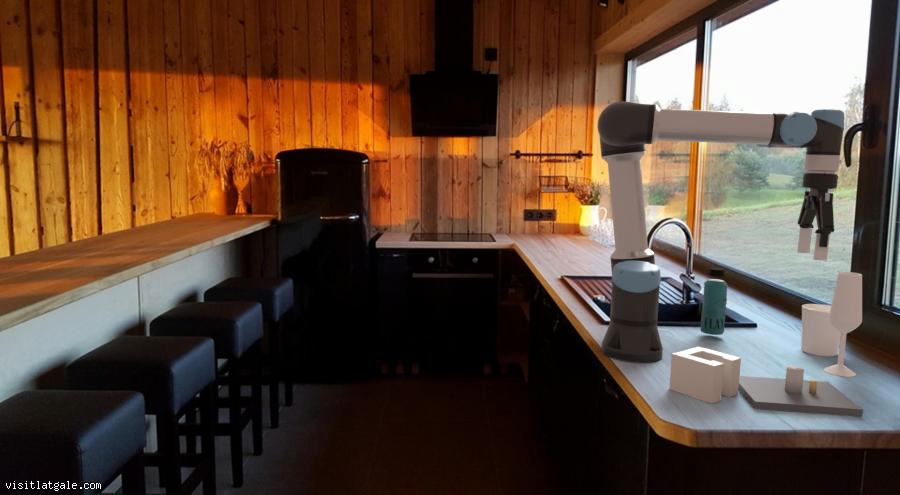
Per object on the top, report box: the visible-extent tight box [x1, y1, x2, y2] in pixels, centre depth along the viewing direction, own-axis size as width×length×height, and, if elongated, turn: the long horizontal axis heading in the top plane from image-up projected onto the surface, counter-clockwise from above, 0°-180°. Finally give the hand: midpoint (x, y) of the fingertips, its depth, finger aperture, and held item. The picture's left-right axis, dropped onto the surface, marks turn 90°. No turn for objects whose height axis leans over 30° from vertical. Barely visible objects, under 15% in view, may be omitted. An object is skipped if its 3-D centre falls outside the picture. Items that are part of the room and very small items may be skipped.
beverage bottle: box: [700, 267, 728, 336], centre depth 178 cm, size 6×7×20 cm
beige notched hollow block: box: [668, 346, 742, 404], centre depth 135 cm, size 10×10×8 cm
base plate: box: [738, 365, 864, 418], centre depth 132 cm, size 20×16×6 cm
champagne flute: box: [823, 271, 863, 378], centre depth 149 cm, size 7×7×24 cm
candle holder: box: [800, 303, 841, 358], centre depth 166 cm, size 10×10×12 cm
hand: (811, 256), depth 160 cm, fingers open, 13 cm apart
